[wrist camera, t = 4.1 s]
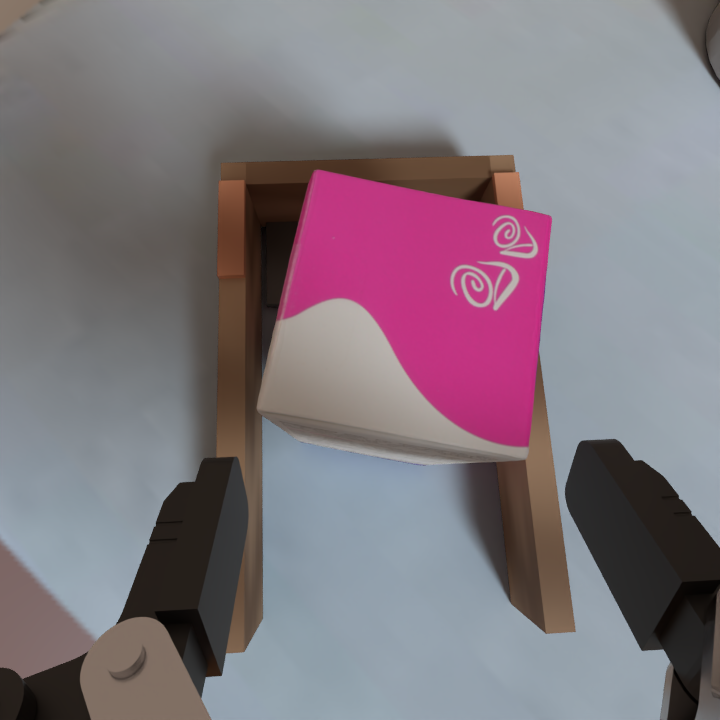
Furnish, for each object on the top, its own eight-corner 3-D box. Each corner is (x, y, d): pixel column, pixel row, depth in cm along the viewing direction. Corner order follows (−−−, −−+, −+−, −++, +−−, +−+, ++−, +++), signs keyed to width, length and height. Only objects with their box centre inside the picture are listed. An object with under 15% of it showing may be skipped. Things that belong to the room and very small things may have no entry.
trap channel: (240, 208, 23) (219, 158, 19) (489, 200, 23) (515, 150, 20) (237, 620, 19) (210, 657, 15) (535, 602, 19) (580, 635, 16)
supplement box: (431, 468, 20) (532, 472, 9) (296, 442, 21) (234, 415, 9) (451, 339, 22) (561, 206, 11) (323, 315, 22) (297, 158, 11)
